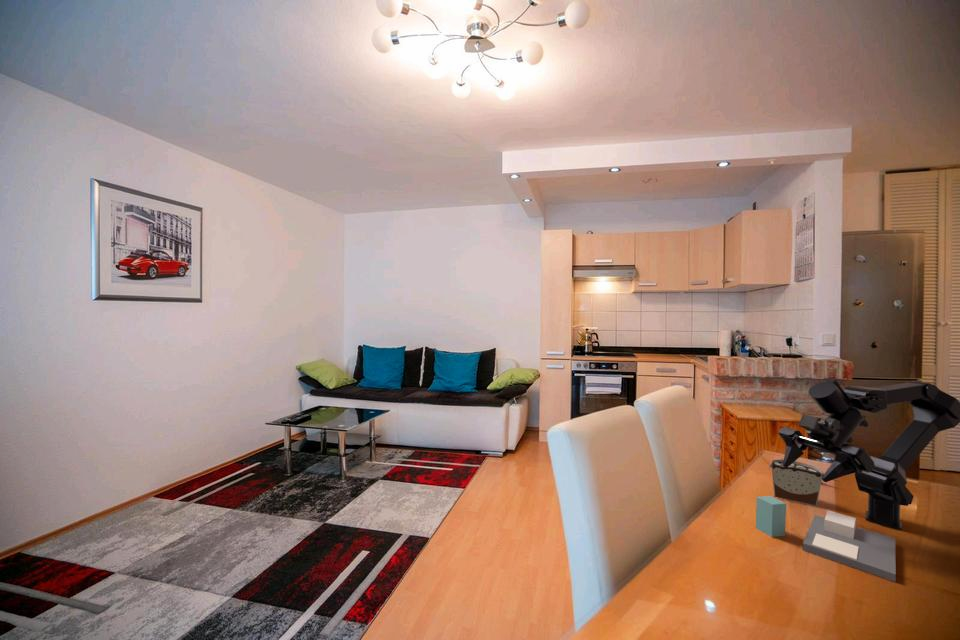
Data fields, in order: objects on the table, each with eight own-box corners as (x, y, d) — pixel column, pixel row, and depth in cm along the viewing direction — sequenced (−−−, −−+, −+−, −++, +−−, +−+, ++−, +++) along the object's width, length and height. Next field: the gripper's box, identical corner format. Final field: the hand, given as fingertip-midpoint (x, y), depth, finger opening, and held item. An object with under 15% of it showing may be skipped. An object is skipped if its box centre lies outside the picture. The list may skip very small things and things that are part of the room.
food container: (819, 500, 113) (820, 465, 113) (824, 508, 108) (825, 471, 108) (766, 488, 119) (767, 455, 119) (768, 496, 114) (769, 461, 114)
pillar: (768, 526, 96) (769, 495, 96) (785, 535, 92) (786, 503, 92) (755, 528, 95) (756, 497, 95) (771, 537, 91) (772, 504, 91)
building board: (814, 520, 100) (815, 504, 100) (894, 544, 90) (895, 527, 90) (802, 549, 86) (803, 531, 86) (895, 582, 76) (896, 561, 76)
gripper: (784, 396, 106) (750, 439, 104) (867, 412, 88) (827, 464, 86) (806, 425, 108) (773, 467, 106) (891, 446, 90) (853, 498, 88)
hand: (803, 473), depth 96 cm, fingers open, 9 cm apart
